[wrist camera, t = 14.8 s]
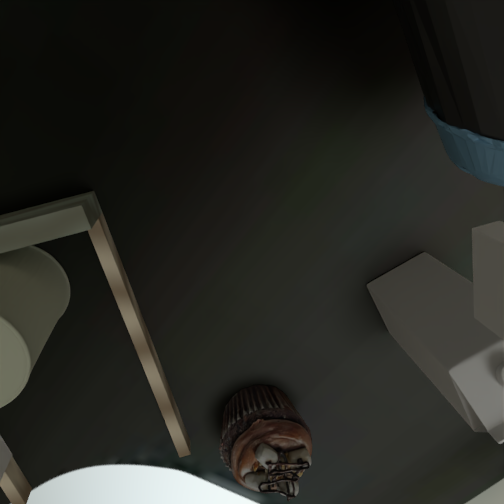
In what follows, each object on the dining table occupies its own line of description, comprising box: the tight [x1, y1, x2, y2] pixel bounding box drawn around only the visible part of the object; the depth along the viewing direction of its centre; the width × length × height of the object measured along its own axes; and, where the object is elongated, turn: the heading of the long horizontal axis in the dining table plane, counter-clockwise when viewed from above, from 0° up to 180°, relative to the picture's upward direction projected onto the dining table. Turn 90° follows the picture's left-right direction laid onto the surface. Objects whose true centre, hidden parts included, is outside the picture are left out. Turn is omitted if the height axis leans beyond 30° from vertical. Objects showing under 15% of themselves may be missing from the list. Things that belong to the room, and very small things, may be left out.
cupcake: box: [219, 385, 312, 502], centre depth 44 cm, size 10×10×10 cm
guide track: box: [0, 191, 190, 504], centre depth 39 cm, size 30×19×5 cm, turn 13°
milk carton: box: [366, 252, 504, 444], centre depth 37 cm, size 7×7×19 cm
